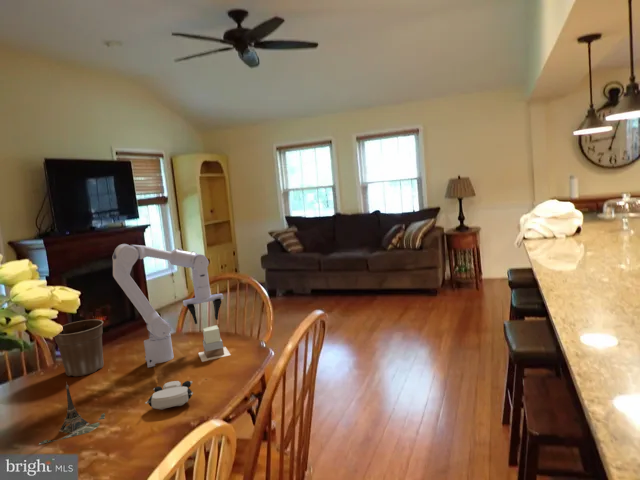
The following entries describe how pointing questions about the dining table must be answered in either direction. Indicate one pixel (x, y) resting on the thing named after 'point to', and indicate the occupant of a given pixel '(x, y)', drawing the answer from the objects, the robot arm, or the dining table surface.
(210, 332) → the sage block
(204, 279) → the robot arm
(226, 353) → the cream board
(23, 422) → the dining table surface
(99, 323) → the plant pot
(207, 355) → the walnut slab
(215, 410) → the dining table surface
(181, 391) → the robot toy
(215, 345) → the light grey flat block
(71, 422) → the eiffel tower figurine
